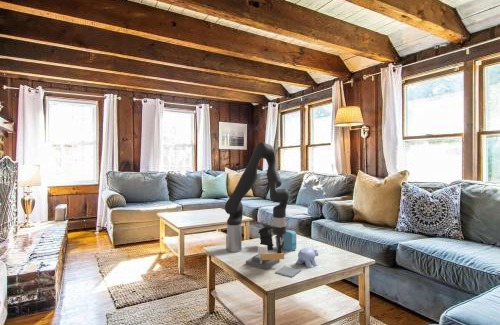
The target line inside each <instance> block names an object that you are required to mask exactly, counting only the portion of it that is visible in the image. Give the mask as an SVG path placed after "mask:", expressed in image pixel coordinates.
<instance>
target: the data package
mask: <svg viewBox="0 0 500 325" xmlns="http://www.w3.org/2000/svg"><path fill="white" fill-rule="evenodd" d="M282 236H283V242H284V244H283V249H282V250H286V251H288V252H289V251H290V252H292V251H294V250H297V232H296V231H294V230H290V229H287V228H286V233H285V234H283V235H282Z"/></svg>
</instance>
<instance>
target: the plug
mask: <svg viewBox="0 0 500 325" xmlns="http://www.w3.org/2000/svg"><path fill="white" fill-rule="evenodd" d="M268 251H269V250H267V245H262V244H259V245H257V254H258V256H256V257H257V258H260V256H259V254H269V253H268Z"/></svg>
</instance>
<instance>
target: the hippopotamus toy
mask: <svg viewBox="0 0 500 325" xmlns="http://www.w3.org/2000/svg"><path fill="white" fill-rule="evenodd" d="M318 256H319V251H318V250H317V249H315V248H311V247H310V248H309V247H307V248H302V249H300V250H299V252H298V253H297V258H298V259H297V260H296V264H297V265H302V264H305V266H306V268H308V269H312V268H314V267H317V266H319V264H318V263H317V261H316V259H315V258H316V257H318Z"/></svg>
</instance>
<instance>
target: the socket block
mask: <svg viewBox="0 0 500 325" xmlns="http://www.w3.org/2000/svg"><path fill="white" fill-rule="evenodd" d="M256 256H258V253H257V254H255V255H254V256H252V257H251V258H249V259H247V260H245V266H250V267H253V268H259V269H262V270H265V271H267V270H269V269H270V268H272V267H274V266H275V265H277V264H279V263H280V260H281V259H275V260H260V258H257V257H256Z"/></svg>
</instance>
